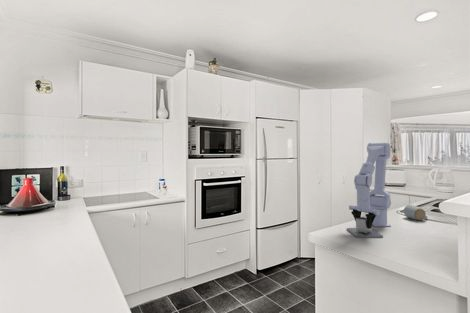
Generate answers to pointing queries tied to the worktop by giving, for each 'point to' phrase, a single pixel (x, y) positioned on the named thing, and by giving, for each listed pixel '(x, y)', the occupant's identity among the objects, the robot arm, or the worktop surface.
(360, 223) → the sleeve
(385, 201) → the robot arm
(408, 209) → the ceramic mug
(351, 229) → the duct flange
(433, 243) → the worktop surface
